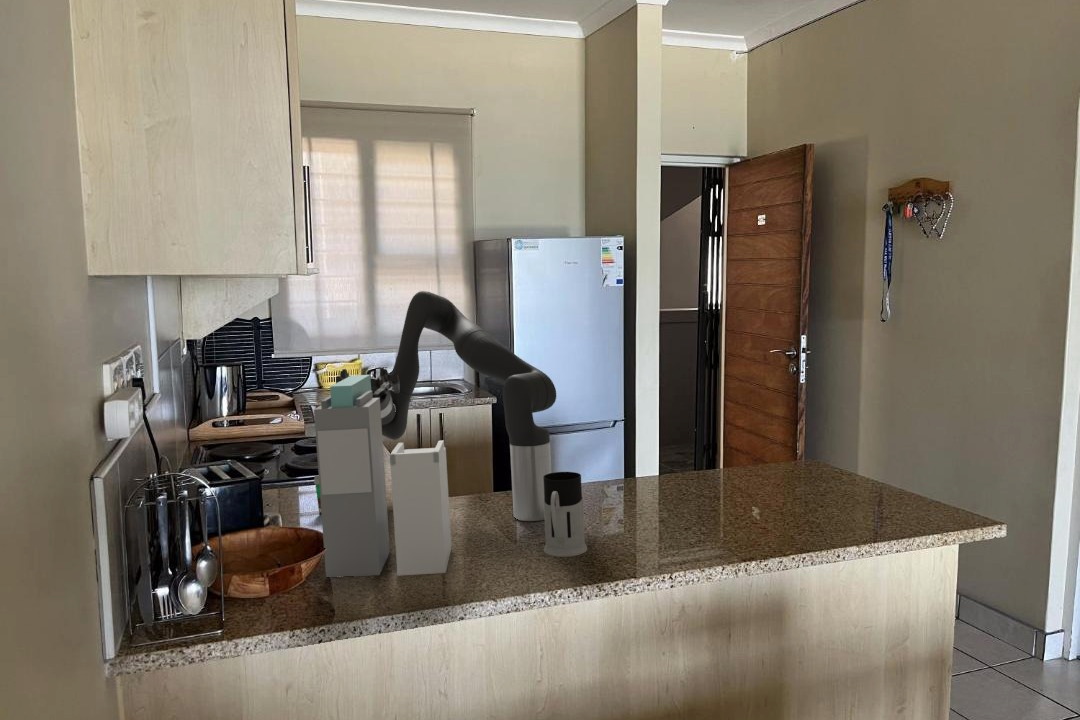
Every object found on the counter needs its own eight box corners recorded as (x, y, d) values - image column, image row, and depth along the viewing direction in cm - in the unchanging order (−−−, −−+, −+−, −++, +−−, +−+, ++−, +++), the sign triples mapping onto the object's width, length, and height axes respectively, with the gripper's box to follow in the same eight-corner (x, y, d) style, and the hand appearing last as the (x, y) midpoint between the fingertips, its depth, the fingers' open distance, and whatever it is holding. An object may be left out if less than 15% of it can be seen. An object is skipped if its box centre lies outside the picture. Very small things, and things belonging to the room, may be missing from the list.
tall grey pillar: (389, 552, 165) (379, 390, 162) (379, 575, 152) (367, 398, 149) (340, 555, 165) (329, 392, 162) (325, 578, 152) (313, 401, 149)
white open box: (451, 547, 167) (445, 437, 165) (445, 572, 152) (438, 451, 150) (407, 550, 166) (400, 440, 164) (397, 575, 151) (389, 454, 149)
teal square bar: (371, 393, 170) (370, 374, 170) (353, 406, 150) (351, 385, 150) (352, 394, 170) (351, 375, 170) (331, 407, 150) (329, 386, 150)
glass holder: (590, 543, 165) (587, 471, 164) (578, 566, 151) (574, 488, 150) (548, 542, 167) (545, 470, 166) (532, 565, 153) (529, 487, 152)
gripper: (346, 385, 199) (331, 358, 184) (404, 383, 199) (394, 355, 184) (345, 414, 196) (329, 388, 181) (404, 411, 196) (393, 385, 181)
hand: (362, 371), depth 183 cm, fingers open, 8 cm apart
